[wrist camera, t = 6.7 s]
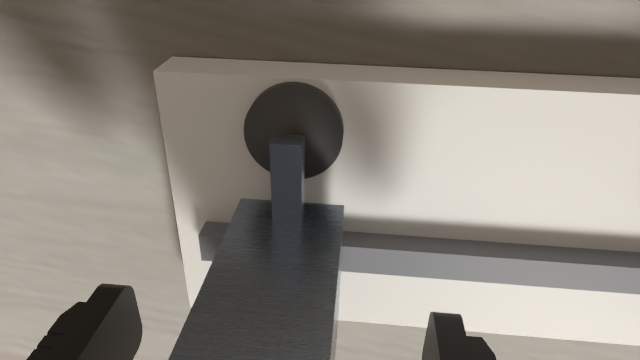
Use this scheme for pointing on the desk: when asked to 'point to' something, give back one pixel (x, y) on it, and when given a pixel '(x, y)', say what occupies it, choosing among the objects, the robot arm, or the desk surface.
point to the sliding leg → (271, 275)
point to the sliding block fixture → (428, 186)
